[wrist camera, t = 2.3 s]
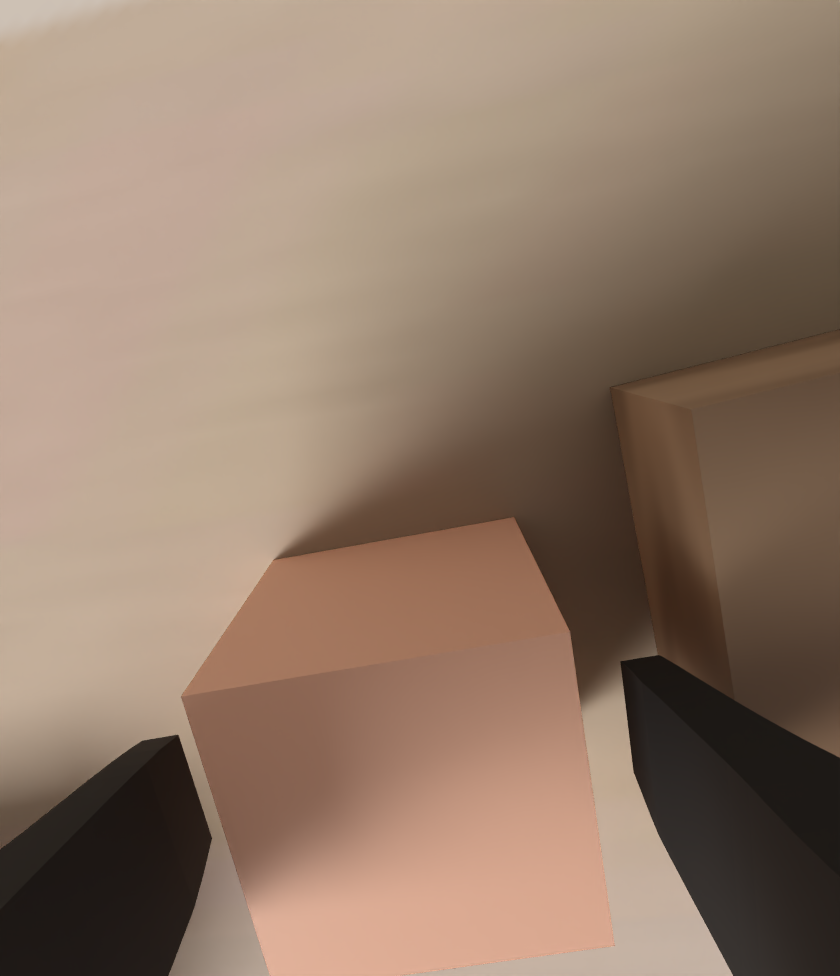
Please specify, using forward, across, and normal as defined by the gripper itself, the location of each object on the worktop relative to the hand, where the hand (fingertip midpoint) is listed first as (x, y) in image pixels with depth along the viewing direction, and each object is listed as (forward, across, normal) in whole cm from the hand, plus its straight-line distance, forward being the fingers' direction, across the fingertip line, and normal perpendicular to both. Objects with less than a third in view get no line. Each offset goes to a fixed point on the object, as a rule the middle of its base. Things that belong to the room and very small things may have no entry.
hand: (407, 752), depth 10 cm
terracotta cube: (+3, 0, 0) cm, 4 cm away
